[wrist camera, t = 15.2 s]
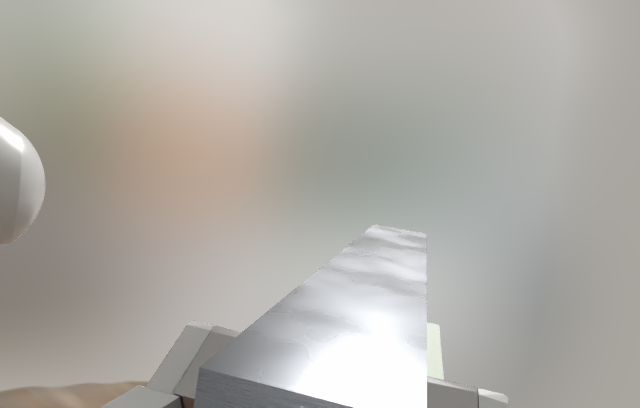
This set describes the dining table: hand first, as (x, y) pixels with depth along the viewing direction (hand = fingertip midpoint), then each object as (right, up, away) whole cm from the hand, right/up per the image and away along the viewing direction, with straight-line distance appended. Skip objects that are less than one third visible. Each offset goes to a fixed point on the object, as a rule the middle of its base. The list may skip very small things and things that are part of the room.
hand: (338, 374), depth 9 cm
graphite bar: (+1, -2, +8) cm, 8 cm away
